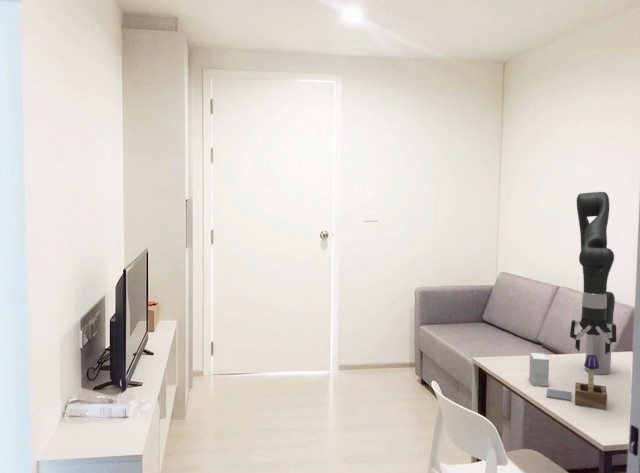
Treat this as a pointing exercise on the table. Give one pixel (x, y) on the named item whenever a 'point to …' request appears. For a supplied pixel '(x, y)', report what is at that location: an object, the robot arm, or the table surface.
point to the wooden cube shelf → (591, 396)
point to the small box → (539, 369)
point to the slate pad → (559, 394)
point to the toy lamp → (591, 369)
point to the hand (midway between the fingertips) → (592, 351)
